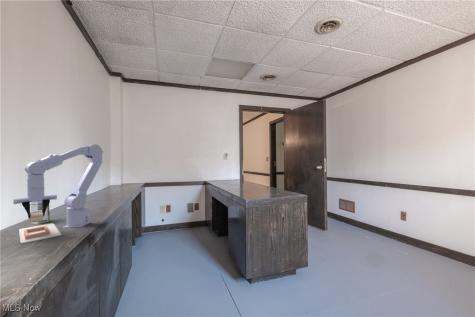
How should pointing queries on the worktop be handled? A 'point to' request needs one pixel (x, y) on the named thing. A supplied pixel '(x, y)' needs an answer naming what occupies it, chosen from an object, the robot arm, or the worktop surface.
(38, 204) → the syrup box
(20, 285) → the worktop surface
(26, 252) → the worktop surface
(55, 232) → the white mat
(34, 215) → the maple block
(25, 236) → the terracotta frame
